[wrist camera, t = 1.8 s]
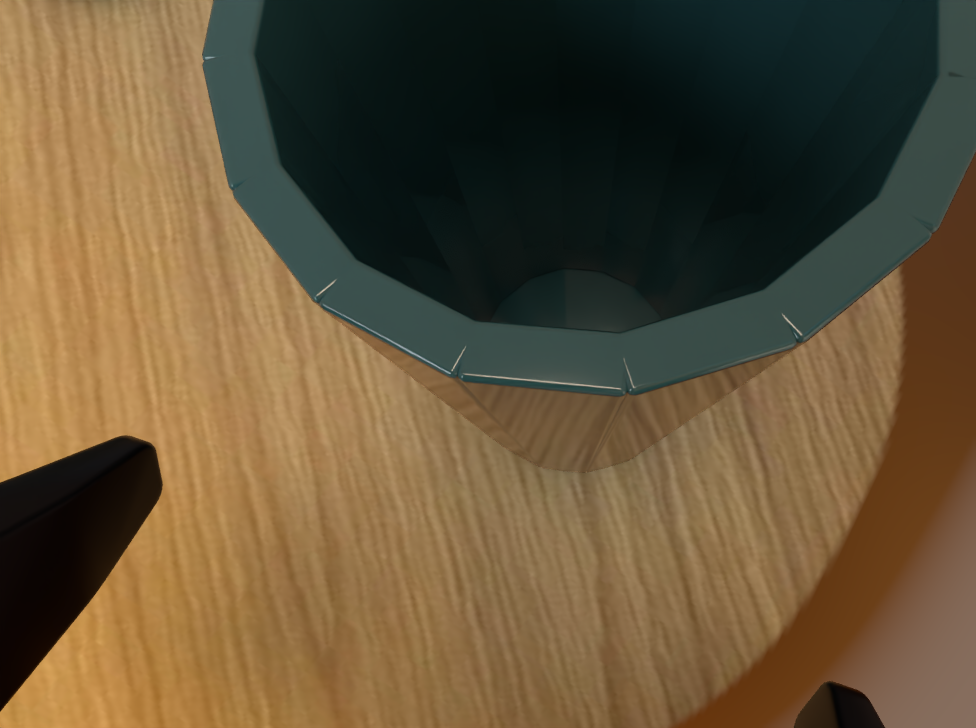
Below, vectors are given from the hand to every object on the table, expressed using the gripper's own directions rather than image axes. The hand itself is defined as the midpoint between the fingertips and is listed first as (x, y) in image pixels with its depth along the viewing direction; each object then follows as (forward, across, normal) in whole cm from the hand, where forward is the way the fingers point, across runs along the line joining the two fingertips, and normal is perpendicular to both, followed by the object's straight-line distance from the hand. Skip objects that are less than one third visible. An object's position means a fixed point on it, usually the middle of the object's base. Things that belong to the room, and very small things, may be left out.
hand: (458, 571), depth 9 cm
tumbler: (+12, 0, +5) cm, 13 cm away
